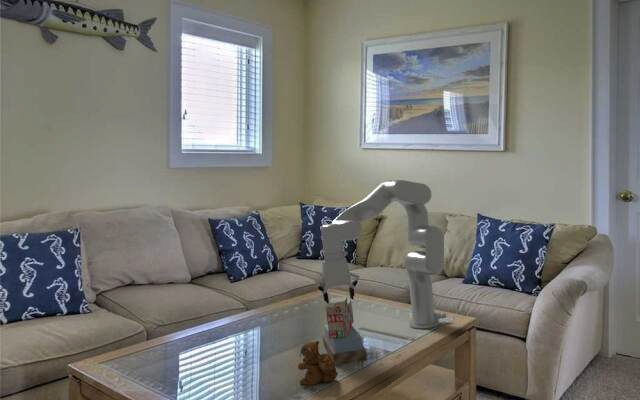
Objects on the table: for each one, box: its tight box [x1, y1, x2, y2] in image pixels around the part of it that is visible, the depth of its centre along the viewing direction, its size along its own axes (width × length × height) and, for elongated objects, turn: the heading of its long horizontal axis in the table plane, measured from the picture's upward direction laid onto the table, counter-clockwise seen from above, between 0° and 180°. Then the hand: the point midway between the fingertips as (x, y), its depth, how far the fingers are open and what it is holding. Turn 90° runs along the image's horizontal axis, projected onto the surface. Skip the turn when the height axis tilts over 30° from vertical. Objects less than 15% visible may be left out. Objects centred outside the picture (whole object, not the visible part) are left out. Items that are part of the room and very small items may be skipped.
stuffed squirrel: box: [297, 340, 339, 386], centre depth 191 cm, size 10×14×13 cm
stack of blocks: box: [325, 296, 354, 339], centre depth 219 cm, size 21×6×12 cm, turn 169°
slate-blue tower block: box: [323, 324, 364, 354], centre depth 218 cm, size 10×23×4 cm, turn 9°
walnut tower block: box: [322, 334, 368, 366], centre depth 218 cm, size 12×25×4 cm, turn 8°
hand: (339, 300), depth 218 cm, fingers open, 9 cm apart
